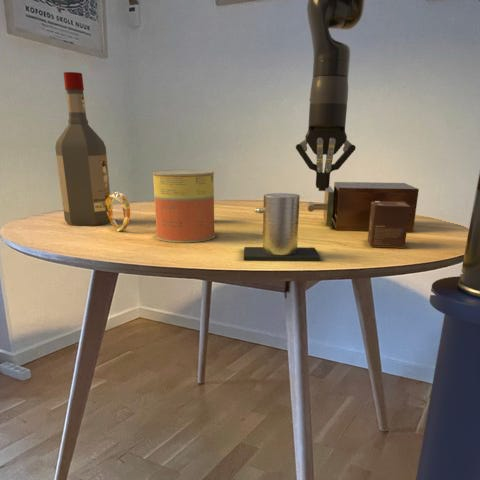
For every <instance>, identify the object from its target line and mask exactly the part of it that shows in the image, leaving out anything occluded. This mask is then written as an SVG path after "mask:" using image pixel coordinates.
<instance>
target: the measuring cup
mask: <svg viewBox="0 0 480 480" xmlns="http://www.w3.org/2000/svg"><path fill="white" fill-rule="evenodd" d="M300 197H301V195H300V194H296V193H288V192H273V193H265V194H263V208H262V207H261V208H260V207H259V208H258V207H256V208H254V213H255V214H259V215H260V214H261V215H262V219H263V220H262V247H263V253H265V254H269V255H276V256H286V255H293V254H296V253H297V247H298V237H299V216H300Z"/></svg>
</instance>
